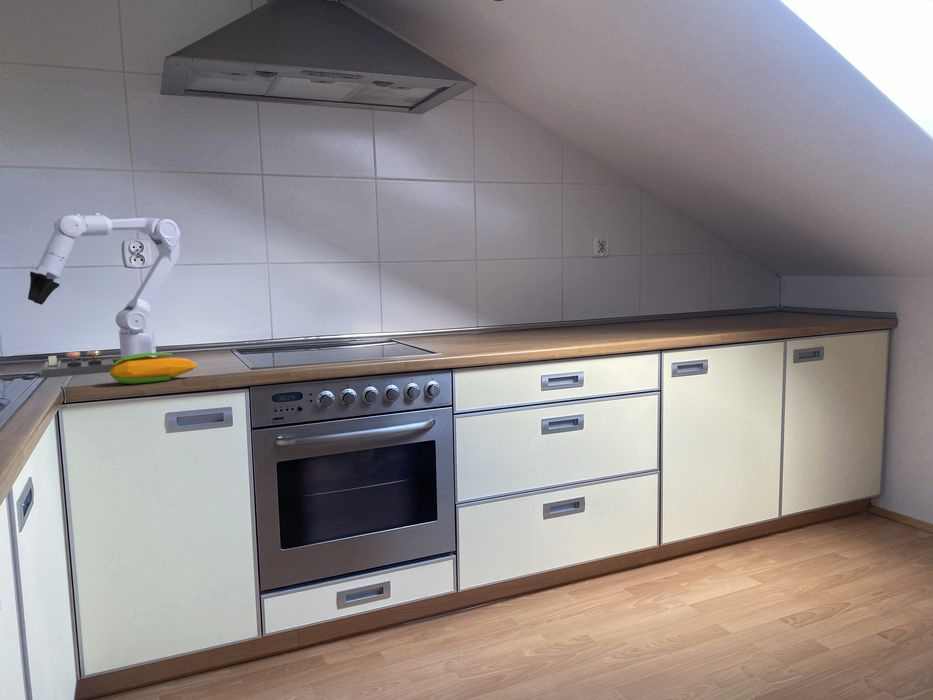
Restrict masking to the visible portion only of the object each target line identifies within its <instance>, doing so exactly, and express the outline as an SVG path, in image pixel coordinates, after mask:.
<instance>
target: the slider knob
mask: <svg viewBox="0 0 933 700" xmlns="http://www.w3.org/2000/svg"><path fill="white" fill-rule="evenodd" d="M48 364H49V365H57V364H58V359H57V355H51V356H49V355H48Z"/></svg>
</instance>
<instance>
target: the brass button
mask: <svg viewBox="0 0 933 700" xmlns="http://www.w3.org/2000/svg"><path fill="white" fill-rule="evenodd" d="M97 356H102V355H101V350H100V349H94V350H87V357H91V358H92V359H91V360H95V359H97Z"/></svg>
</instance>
